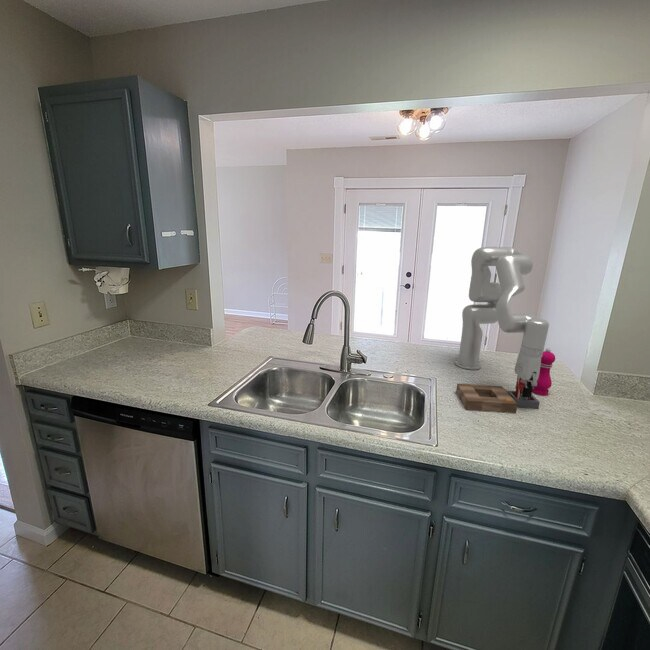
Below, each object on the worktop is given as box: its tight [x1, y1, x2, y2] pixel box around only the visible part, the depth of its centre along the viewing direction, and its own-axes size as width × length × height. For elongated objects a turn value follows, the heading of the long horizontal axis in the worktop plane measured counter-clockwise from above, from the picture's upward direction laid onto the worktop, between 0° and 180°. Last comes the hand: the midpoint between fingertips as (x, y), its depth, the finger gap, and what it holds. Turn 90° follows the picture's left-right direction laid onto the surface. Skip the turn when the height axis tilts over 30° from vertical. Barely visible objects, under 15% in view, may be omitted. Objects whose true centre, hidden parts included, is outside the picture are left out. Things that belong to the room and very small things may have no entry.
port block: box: [455, 382, 518, 414], centre depth 135 cm, size 15×18×4 cm
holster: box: [506, 390, 541, 410], centre depth 135 cm, size 9×9×3 cm
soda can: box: [514, 376, 531, 400], centre depth 134 cm, size 5×5×12 cm
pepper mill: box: [532, 348, 556, 396], centre depth 142 cm, size 7×7×20 cm
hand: (522, 392), depth 135 cm, fingers closed on soda can, 5 cm apart
